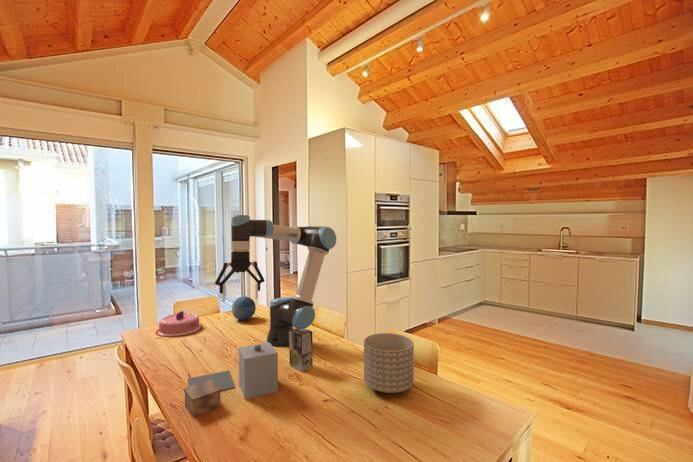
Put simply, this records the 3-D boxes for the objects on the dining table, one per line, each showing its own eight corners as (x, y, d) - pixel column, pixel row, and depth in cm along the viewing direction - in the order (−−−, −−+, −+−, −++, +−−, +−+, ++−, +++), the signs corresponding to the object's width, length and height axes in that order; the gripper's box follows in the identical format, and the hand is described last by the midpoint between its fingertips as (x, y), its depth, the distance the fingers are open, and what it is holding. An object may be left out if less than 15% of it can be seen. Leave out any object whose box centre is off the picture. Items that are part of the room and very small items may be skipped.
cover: (269, 377, 137) (269, 338, 136) (277, 391, 126) (277, 348, 125) (239, 384, 131) (238, 343, 131) (244, 399, 121) (244, 354, 120)
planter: (381, 406, 116) (381, 355, 115) (355, 382, 133) (355, 337, 132) (423, 393, 125) (424, 345, 124) (394, 372, 142) (394, 330, 141)
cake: (190, 337, 184) (189, 318, 184) (145, 337, 184) (145, 318, 184) (209, 323, 209) (209, 306, 208) (170, 323, 209) (170, 306, 209)
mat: (229, 371, 143) (229, 370, 143) (234, 387, 129) (234, 387, 129) (187, 379, 136) (187, 378, 136) (189, 398, 121) (189, 397, 121)
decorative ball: (227, 322, 209) (226, 299, 209) (238, 315, 224) (238, 293, 224) (249, 323, 207) (249, 300, 206) (259, 316, 222) (259, 294, 221)
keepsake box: (211, 395, 123) (211, 379, 123) (221, 406, 116) (221, 389, 115) (183, 405, 116) (183, 388, 116) (192, 417, 109) (192, 399, 109)
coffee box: (313, 367, 146) (313, 331, 146) (301, 372, 142) (301, 334, 141) (300, 361, 153) (299, 326, 152) (288, 365, 148) (288, 330, 147)
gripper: (267, 249, 152) (267, 295, 152) (208, 250, 141) (208, 300, 142) (271, 250, 145) (271, 299, 145) (209, 252, 134) (209, 304, 135)
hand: (240, 299), depth 144 cm, fingers open, 13 cm apart
